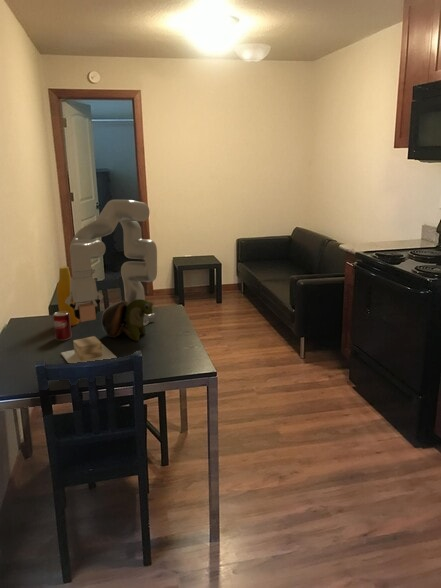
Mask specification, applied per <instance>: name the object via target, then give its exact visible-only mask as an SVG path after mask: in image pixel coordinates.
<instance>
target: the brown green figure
mask: <svg viewBox="0 0 441 588" xmlns="http://www.w3.org/2000/svg"><path fill="white" fill-rule="evenodd" d="M153 305H154V304H153V302H152V301H147V300H141V299H139V300H134V301H132V302H131V303H129V304H128V303H127V302H126V301H125V300H120V301H118V302H116V303H114V304H111V305H109V306H108V307H107V308H105V310H104V311H103V312H102V315H101V327H102V330H103V331H104V333H105V335H106V336H107V337H110V338H117V337H119V336H120V335H121V334H122V333H123V332H124V333H125V334H126V336H128V338H129V339H131V340H133V341H136V342H139V341H140V335H145V334H146V327H145V326H144V324H143V322H144V319H143V318H144V317H145V314H147V315H150V314H153ZM126 325H127V326H126Z"/></svg>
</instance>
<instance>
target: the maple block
mask: <svg viewBox="0 0 441 588" xmlns="http://www.w3.org/2000/svg"><path fill="white" fill-rule="evenodd" d="M72 342H73V350H74V352H75V355H76V356H77V357H78V358H79V359H80V361H83V360H87V359H92V358H96V357H100V356H102V345H101V344H102V341H101V340H99V338H97V337H96V336H95V335H93V336H88V337H83V338H79V339H74V340H73V341H72Z"/></svg>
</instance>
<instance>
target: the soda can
mask: <svg viewBox="0 0 441 588" xmlns="http://www.w3.org/2000/svg"><path fill="white" fill-rule="evenodd" d="M52 319H53V320H52V322H53V329H54V337H55V340H57V341H62V342H63V341H68V340H70V339H71V338H72V335H73V334H72V326H71V324H70V314H69V313H68V312H66V311H61V312H59V311H56V312H54V313H53V315H52Z"/></svg>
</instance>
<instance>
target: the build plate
mask: <svg viewBox="0 0 441 588" xmlns="http://www.w3.org/2000/svg"><path fill="white" fill-rule="evenodd" d="M101 345H102V356H100V357H96V358H92V359H87V360H83V361H80V359H79V358H78V357H77V356H76V355H75V352H74V349H72V350H67V351H63V352H60V355H61V356H62V357H63V358H64V360H65V361H66V362H67V364H68V363H77V362H87V361H95V360H103V359H111V358H117V359H118V357H117V356H116V354H114V353H113V352H112V351H111V350H110V349H109V348H108V347H106V346H105V345H104V344H103V343H101Z"/></svg>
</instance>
